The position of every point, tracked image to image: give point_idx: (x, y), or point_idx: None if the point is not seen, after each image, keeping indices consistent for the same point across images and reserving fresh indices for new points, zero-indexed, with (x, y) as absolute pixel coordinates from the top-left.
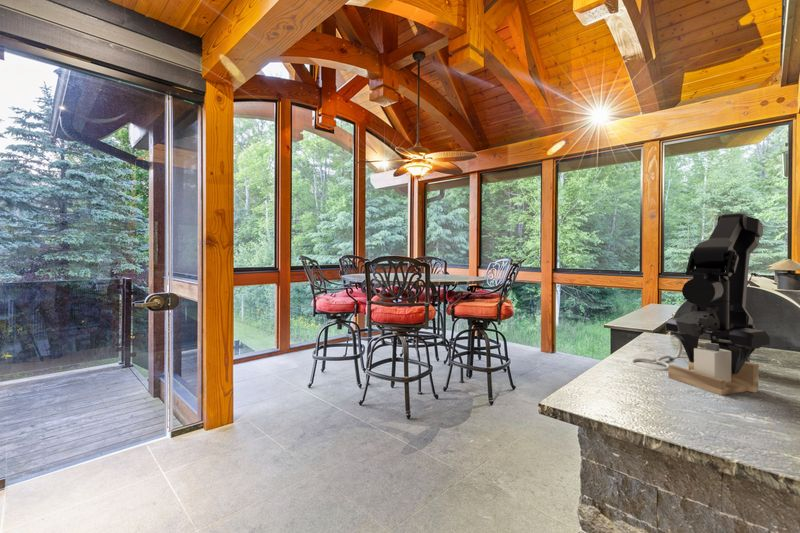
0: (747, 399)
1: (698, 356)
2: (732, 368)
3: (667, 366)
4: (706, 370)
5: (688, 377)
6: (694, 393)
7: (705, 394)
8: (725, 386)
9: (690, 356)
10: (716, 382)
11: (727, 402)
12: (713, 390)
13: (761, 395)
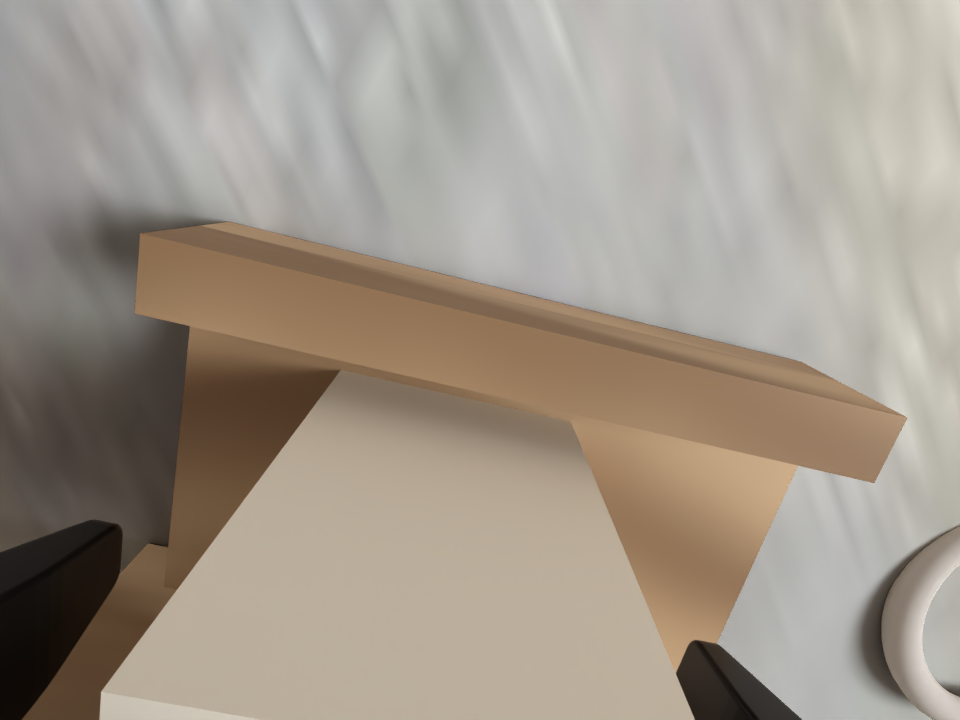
0: (54, 307)
1: (562, 613)
2: (44, 559)
3: (919, 648)
4: (414, 448)
5: (593, 327)
6: (397, 20)
7: (319, 99)
8: (240, 381)
9: (745, 707)
10: (223, 243)
11: (68, 18)
12: (303, 244)
13: (78, 523)
